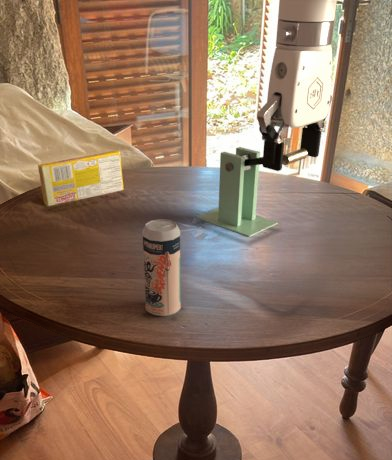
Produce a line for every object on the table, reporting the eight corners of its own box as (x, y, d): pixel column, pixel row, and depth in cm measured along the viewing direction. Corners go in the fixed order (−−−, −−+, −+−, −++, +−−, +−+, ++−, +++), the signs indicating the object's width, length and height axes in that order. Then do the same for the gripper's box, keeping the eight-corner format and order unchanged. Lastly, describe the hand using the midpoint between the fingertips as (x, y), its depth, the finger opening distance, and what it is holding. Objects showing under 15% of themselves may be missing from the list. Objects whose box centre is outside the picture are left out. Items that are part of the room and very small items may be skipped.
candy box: (119, 191, 114) (116, 149, 110) (124, 194, 113) (121, 152, 108) (43, 208, 106) (37, 163, 102) (48, 211, 105) (41, 166, 100)
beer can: (138, 308, 77) (133, 224, 70) (166, 297, 79) (164, 215, 72) (159, 322, 74) (157, 236, 67) (188, 310, 76) (188, 226, 70)
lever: (308, 160, 88) (306, 144, 87) (290, 167, 85) (287, 151, 84) (244, 168, 97) (241, 153, 96) (225, 174, 94) (222, 159, 93)
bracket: (277, 229, 100) (284, 154, 92) (248, 242, 95) (254, 165, 88) (225, 211, 106) (228, 140, 99) (196, 222, 101) (197, 149, 94)
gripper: (289, 43, 70) (277, 180, 80) (360, 33, 81) (341, 155, 91) (242, 37, 75) (236, 168, 84) (316, 28, 85) (302, 146, 95)
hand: (290, 161), depth 87 cm, fingers open, 9 cm apart
